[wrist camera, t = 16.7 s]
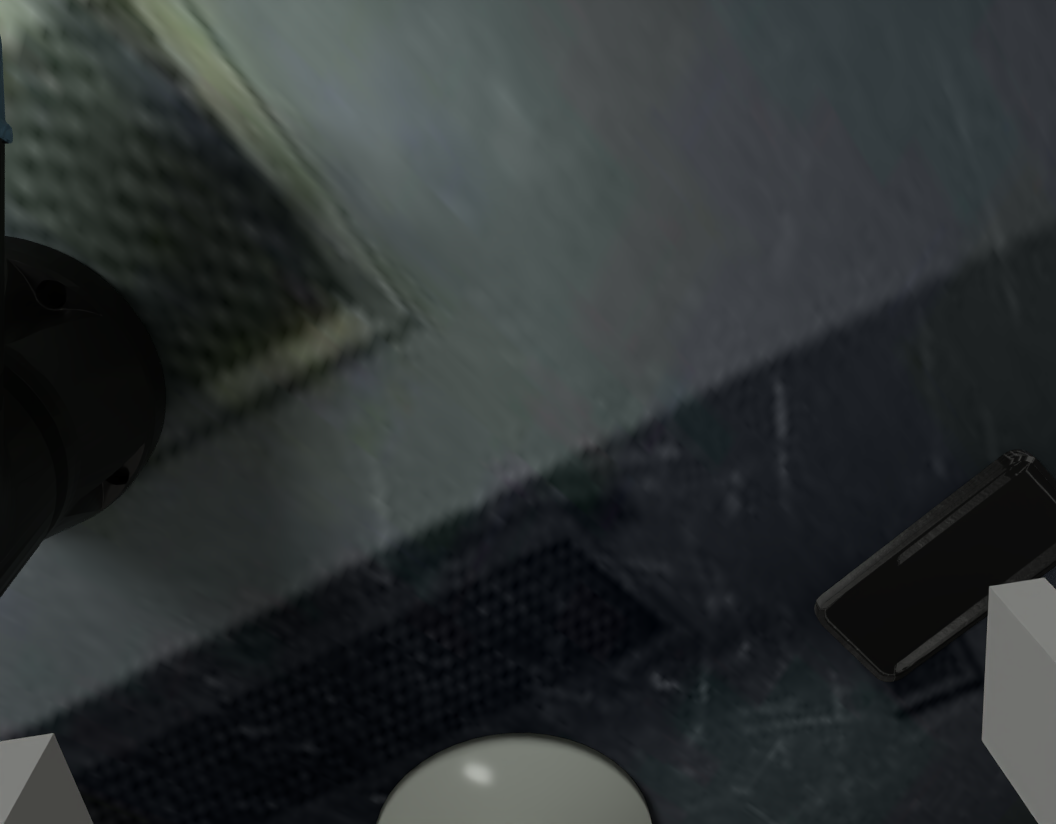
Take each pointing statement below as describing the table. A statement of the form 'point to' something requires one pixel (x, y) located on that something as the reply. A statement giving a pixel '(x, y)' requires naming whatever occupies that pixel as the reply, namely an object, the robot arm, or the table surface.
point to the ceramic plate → (516, 785)
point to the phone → (945, 568)
